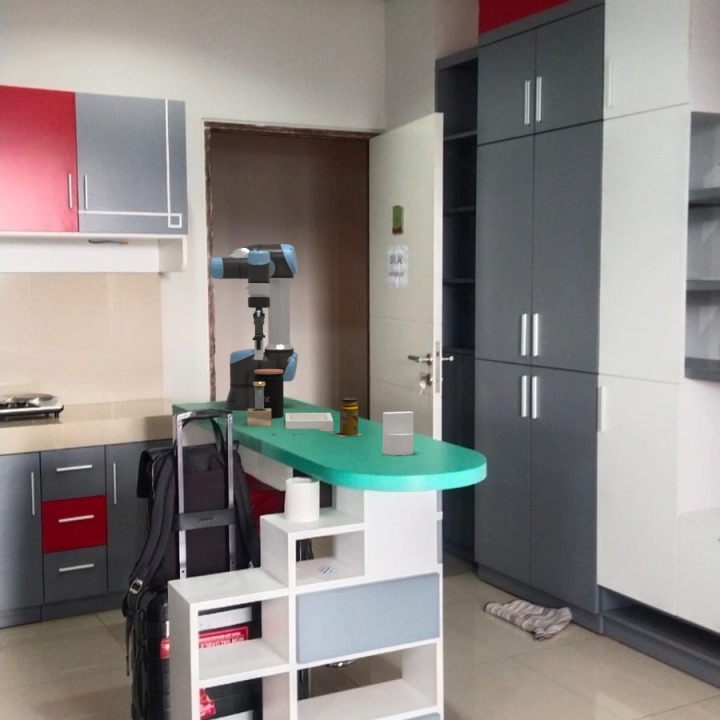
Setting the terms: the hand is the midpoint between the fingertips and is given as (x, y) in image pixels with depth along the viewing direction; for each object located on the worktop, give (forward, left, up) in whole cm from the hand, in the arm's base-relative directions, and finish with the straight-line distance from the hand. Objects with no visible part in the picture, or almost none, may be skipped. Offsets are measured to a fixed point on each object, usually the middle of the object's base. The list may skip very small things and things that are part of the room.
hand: (259, 358), depth 326 cm
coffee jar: (-19, +3, -24) cm, 31 cm away
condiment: (+17, +29, -24) cm, 41 cm away
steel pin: (0, 0, -23) cm, 23 cm away
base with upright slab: (+51, +42, -24) cm, 70 cm away
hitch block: (0, 0, -24) cm, 24 cm away
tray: (0, +17, -24) cm, 29 cm away
